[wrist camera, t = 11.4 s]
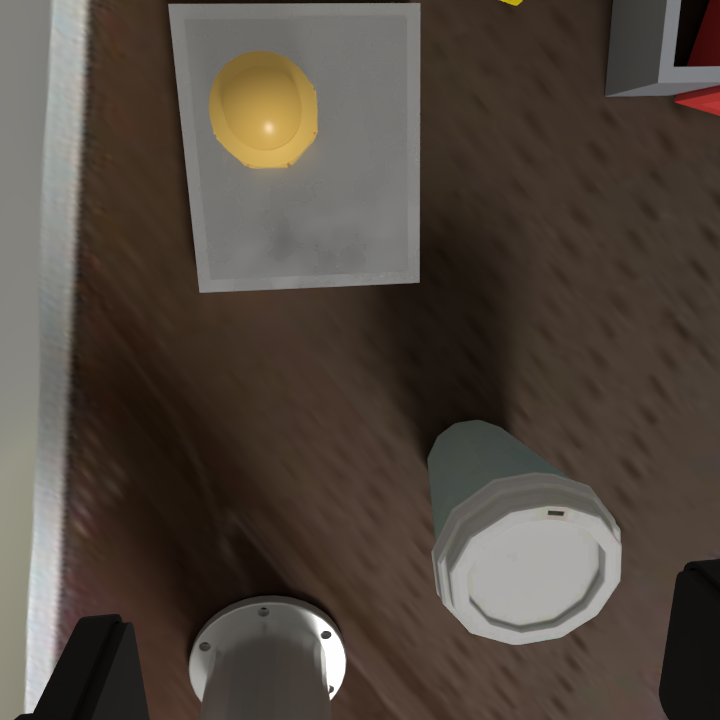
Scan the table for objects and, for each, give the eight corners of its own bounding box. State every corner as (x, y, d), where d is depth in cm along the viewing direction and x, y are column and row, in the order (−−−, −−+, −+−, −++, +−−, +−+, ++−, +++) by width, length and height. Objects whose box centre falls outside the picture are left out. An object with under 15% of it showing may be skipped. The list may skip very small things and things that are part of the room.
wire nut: (316, 167, 36) (320, 165, 30) (225, 169, 35) (211, 168, 30) (312, 67, 34) (315, 46, 29) (216, 68, 34) (200, 47, 28)
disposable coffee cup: (518, 520, 48) (612, 667, 34) (386, 514, 46) (426, 665, 32) (544, 396, 45) (661, 500, 31) (404, 386, 43) (458, 489, 29)
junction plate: (412, 276, 41) (431, 292, 35) (205, 285, 40) (190, 304, 34) (412, 14, 36) (433, -16, 31) (176, 15, 35) (153, -16, 29)
